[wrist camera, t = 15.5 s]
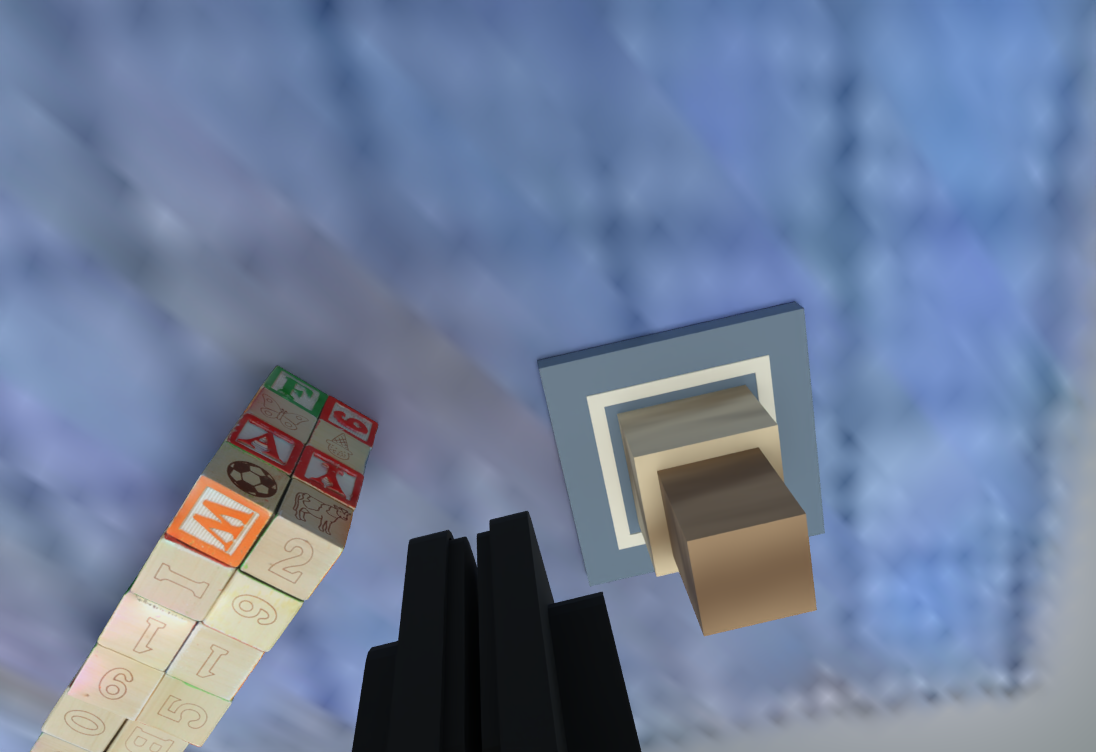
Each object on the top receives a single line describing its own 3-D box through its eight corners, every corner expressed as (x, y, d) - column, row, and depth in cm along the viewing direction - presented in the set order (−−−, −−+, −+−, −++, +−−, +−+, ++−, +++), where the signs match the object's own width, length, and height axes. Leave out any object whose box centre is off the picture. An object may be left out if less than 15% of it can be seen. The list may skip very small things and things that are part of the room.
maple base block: (616, 413, 43) (633, 457, 38) (745, 384, 43) (777, 424, 38) (638, 523, 45) (656, 576, 41) (759, 495, 45) (791, 546, 41)
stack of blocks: (195, 686, 49) (108, 879, 37) (95, 642, 47) (-28, 830, 36) (381, 420, 43) (346, 552, 32) (276, 359, 41) (199, 475, 30)
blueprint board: (537, 360, 42) (538, 369, 41) (795, 301, 42) (804, 309, 41) (587, 573, 48) (590, 587, 46) (816, 521, 48) (825, 534, 46)
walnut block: (656, 470, 38) (686, 541, 33) (758, 447, 38) (806, 513, 33) (673, 555, 40) (703, 636, 35) (769, 533, 40) (816, 609, 35)
